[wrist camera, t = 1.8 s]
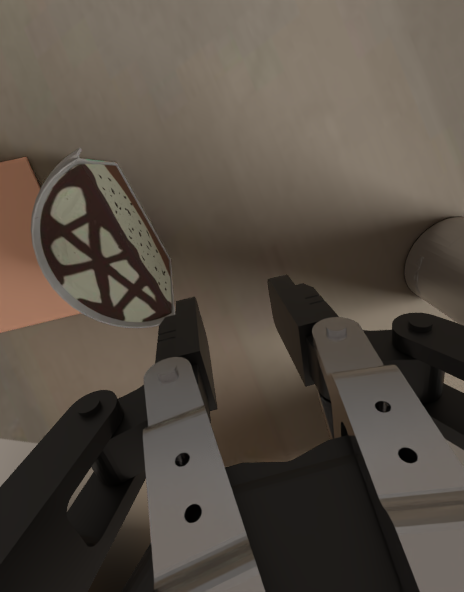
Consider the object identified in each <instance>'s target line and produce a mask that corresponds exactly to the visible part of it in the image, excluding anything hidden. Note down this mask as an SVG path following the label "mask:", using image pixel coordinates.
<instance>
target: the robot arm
mask: <svg viewBox="0 0 464 592" xmlns="http://www.w3.org/2000/svg"><path fill="white" fill-rule="evenodd" d="M405 279H406V282H407V285H408V287H409V288H410V290H411V291H412V292H414V293H415V294H416V295H418V296H419V297H420V298H422V299H423V300H425V301H426V302H428V303H429V304H431V305H432V306H434V307H435V308H437V309H438V310H439V311H441V312H442V313H444V314H445V315H447V316H448V317H450V318H451V319H453V320H454V321H456V322H457V323H455V322H452V321H449V320H446V319H443V318H440V317H437V316H434V315H431V314H426V313H408V314H404V315H401V316H399V317H397V318H396V319H394V321H393V323H392V330H380V331H366V330H362V328H361V326H360V325H359V324H358V323H357V322H355V321H354V320H351V319H348V318H343V317H339V316H338V315H337V314H336V313H335V312H334V311H333V310H332V308H331V307H330V306H329V305H328V304H327V303H326V302H325V301H324V299H323V298H322V297H321V296H319V294H318V292H317V291H316V290H315V289H314V288H313V287H310V286H308V285H306V284H299V285H295V284H294V283H293V282H292V281H291V279H290V278H289V277H288V275H283V276H279V277H274V278H270V279H268V289H269V295H270V302H271V308H272V314H273V319H274V322H275V326H276V328H277V331H278V333H279V335H280V337H281V339H282V341H283V343H284V345H285V347H286V349H287V351H288V353H289V355H290V357H291V359H292V361H293V363H294V365H295V367H296V369H297V371H298V373H299V375H300V376H301V378H302V380H303V382H304V384H305V386H310V385H314V384H315V385H316V387H317V389H318V396H319V402H320V406H321V409H322V413H323V416H324V419H325V423H326V426H327V430H328V433H329V437H330V440H328V441H326V442H324V443H322V444H321V445H319V446H317V447H315V448H313V449H312V450H310V451H308V452H306V453H304V454H303V455H301V456H299V457H297V458H296V459H294V460H292V461H288V462H260V463H240V464H237V465H233V466H229V467H224V464H223V461H222V458H221V455H220V452H219V449H218V446H217V443H216V440H215V437H214V433H213V430H212V427H211V424H210V423H211V418H210V411H212V410H216V409H217V402H216V395H215V388H214V381H213V374H212V367H211V360H210V353H209V346H208V341H207V336H206V332H205V329H204V325H203V322H202V318H201V315H200V311H199V307H198V304H197V301H196V298H195V297H192V298H188V299H184V300H180V301H176V315H172V316H168V317H165V318H164V320H163V321H162V322H161V324H160V325H159V332H158V335H159V336H158V343H157V351H156V361H155V364H154V365H153V366H152V367H150V368H149V370H148V371H147V372H146V374H145V376H144V385H143V386H142V387H140V388H139V389H137V390H135V391H133V392H131V393H129V394H127V395H125V396H123V397H121V398H119V399H117V397H116V395H115V393H113V392H112V391H109V390H100V391H95V392H92V393H90V394H87V395H85V396H84V397H82V398H80V399H79V400H78V401H76V402H75V403H74V404H73V405H72V406H71V407H70V408H69V409H68V410H67V411H66V413H65V414H64V415H63V416H62V417H61V418H60V419H59V421H58V422H57V423H56V424H55V425H54V426H53V427H52V429H51V430H50V431H49V432H48V433H47V434H46V435H45V437H44V438H43V439H42V440H41V441H40V442H39V443H38V445H37V446H36V447H35V448H34V449H33V450H32V452H31V453H30V454H29V455H28V456H27V457H26V458H25V460H24V461H23V462H22V463H21V464H20V465H19V466H18V467H17V469H16V470H15V471H14V472H13V473H12V474H11V475H10V477H9V478H8V479H7V480H6V481H5V482H4V483H3V485H2V486H1V487H0V592H88V589H89V588H90V586H91V584H92V582H93V580H94V578H95V576H96V574H97V572H98V570H99V568H100V566H101V564H102V562H103V560H104V559H105V556H106V555H107V552H108V551H109V549H110V547H111V545H112V543H113V541H114V539H115V537H116V535H117V533H118V531H119V529H120V527H121V526H122V524H123V522H124V520H125V518H126V516H127V514H128V512H129V510H130V508H131V506H132V504H133V502H134V500H135V498H136V496H137V494H138V492H139V490H140V488H141V487H142V485H143V483H144V481H145V479H146V484H147V496H148V508H149V521H150V534H151V544H150V545H149V547H148V549H147V550H146V552H145V554H144V555H143V557H142V558H141V560H140V562H139V563H138V565H137V567H136V568H135V570H134V572H133V573H132V575H131V577H130V578H129V580H128V581H127V583H126V585H125V586H124V588H123V590H122V591H121V592H464V467H463V466H462V464H461V463H460V461H459V460H458V458H457V457H456V455H455V454H454V452H453V451H452V449H451V447H450V446H449V444H448V443H447V441H446V440H448V441H449V442H451V443H453V444H454V445H456V446H458V447H459V448H461V449H462V450H464V393H462V392H460V391H458V390H456V389H454V388H452V387H450V386H448V385H446V384H444V375H445V372H446V373H448V374H450V375H453V376H455V377H457V378H459V379H461V380H463V381H464V217H453V218H449V219H445V220H443V221H441V222H438V223H436V224H435V225H433V226H432V227H430V228H429V229H428V230H426V231H425V232H424V233H423V234H422V235H421V236H420V237H419V238H418V240H417V241H416V242H415V243H414V245H413V247H412V248H411V250H410V252H409V254H408V257H407V260H406V264H405ZM458 323H459V324H458ZM445 439H446V440H445ZM91 467H92V469H93V470H94V472H93V474H92V475H91V477H90V479H89V480H88V481H87V483H86V485H85V486H84V488H83V489H82V490H81V492H80V493H79V495H78V496H77V498H76V500H75V501H74V503H73V504H72V506H71V507H70V509H69V510H68V512H67V506H68V503H69V500H70V498H71V496H72V495H73V493H74V491H75V490H76V488H77V487H78V486H79V484H80V483H81V481H82V480H83V478H84V477H85V475H86V474H87V472H88V471H89V469H90V468H91Z"/></svg>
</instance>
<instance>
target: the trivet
mask: <svg viewBox="0 0 464 592" xmlns="http://www.w3.org/2000/svg"><path fill="white" fill-rule="evenodd" d="M40 189H41V188H40V185H39V183H38V181H37V179H36V176H35V174H34V172H33V170H32V168H31V165H30V163H29V161H28V159H27V157H23V158H18V159H14V160H9V161H4V162H0V333H1V332H5V331H9V330H13V329H18V328H22V327H26V326H30V325H34V324H38V323H42V322H47V321H51V320H55V319H59V318H63V317H67V316H71V315H75V314H80V313H81V312H79V311H78V310H76V309H74V308H73V307H72V306H70V305H69V304H68V303H67V302H66V301H64V300H63V299H62V298H61V297H60V296H59V295H58V294H57V292H56V291H55V290H54V289H53V288H52V287H51V285H50V284H49V282H48V281H47V279H46V278H45V276H44V275H43V273H42V270H41V268H40V266H39V264H38V262H37V259H36V255H35V252H34V248H33V245H32V236H31V219H32V211H33V208H34V204H35V200H36V198H37V195H38V193H39V191H40Z"/></svg>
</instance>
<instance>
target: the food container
mask: <svg viewBox="0 0 464 592" xmlns="http://www.w3.org/2000/svg"><path fill="white" fill-rule="evenodd" d="M81 151H82V150H81V148H79V149H77V150H76V151H74V152H72V153H71V154H69V155H68V156H66V157H65V158H64V159H63V160H62V161H61V162H60V163H59V164H58V165H57V166H56V167H55V168H54V169H53V171H52V172H51V173H50V175H49V176H48V177H47V179H46V180H45V182H44V183H43V185H42V187H41V189H40V191H39V193H38V195H37V198H36V200H35V204H34V208H33V211H32V219H31V236H32V245H33V248H34V252H35V255H36V259H37V262H38V264H39V266H40V268H41V270H42V273H43V275H44V276H45V278H46V279H47V281H48V282H49V284H50V285H51V287H52V288H53V289H54V290H55V291H56V292H57V294H58V295H59V296H60V297H61V298H62V299H63V300H64V301H66V302H67V303H68V304H69V305H70V306H72V307H73V308H74V309H76V310H78V311H79V312H81V313H82V314H84V315H86V316H88V317H90V318H92V319H94V320H97V321H99V322H102V323H106V324H109V325H113V326H118V327H124V328H146V327H154V326H158V325H160V324H161V322H162V321H163V320H164V318H165V317H168V316H172V315H176V311H175V307H174V293H173V278H172V264H171V258H170V257H169V255H168V253H167V251H166V249H165V248H164V246H163V244H162V242H161V240H160V239H159V237H158V235H157V233H156V232H155V230H154V228H153V226H152V224H151V223H150V221H149V219H148V217H147V215H146V214H145V212H144V210H143V208H142V207H141V205H140V203H139V201H138V199H137V198H136V196H135V194H134V192H133V190H132V189H131V187H130V185H129V183H128V182H127V180H126V178H125V176H124V174H123V173H122V171H121V169H120V167H119V165H118V164H117V162H109V161H100V160H91V159H82V158H80V157H79V155H80V153H81Z"/></svg>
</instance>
